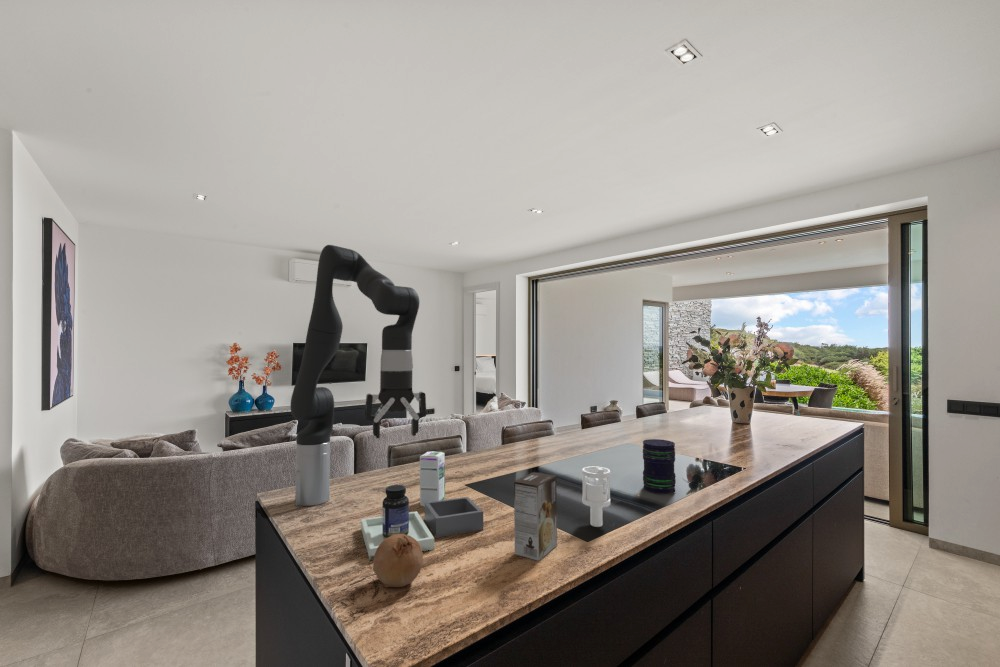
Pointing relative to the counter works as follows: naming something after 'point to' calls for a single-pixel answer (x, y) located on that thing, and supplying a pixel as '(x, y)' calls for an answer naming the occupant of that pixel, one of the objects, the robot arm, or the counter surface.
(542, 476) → the coffee box
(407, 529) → the pill bottle
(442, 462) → the syrup box
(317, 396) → the robot arm
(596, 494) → the white cylindrical cage part
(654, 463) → the storage jar
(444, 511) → the holder
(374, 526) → the tray
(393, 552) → the onion
